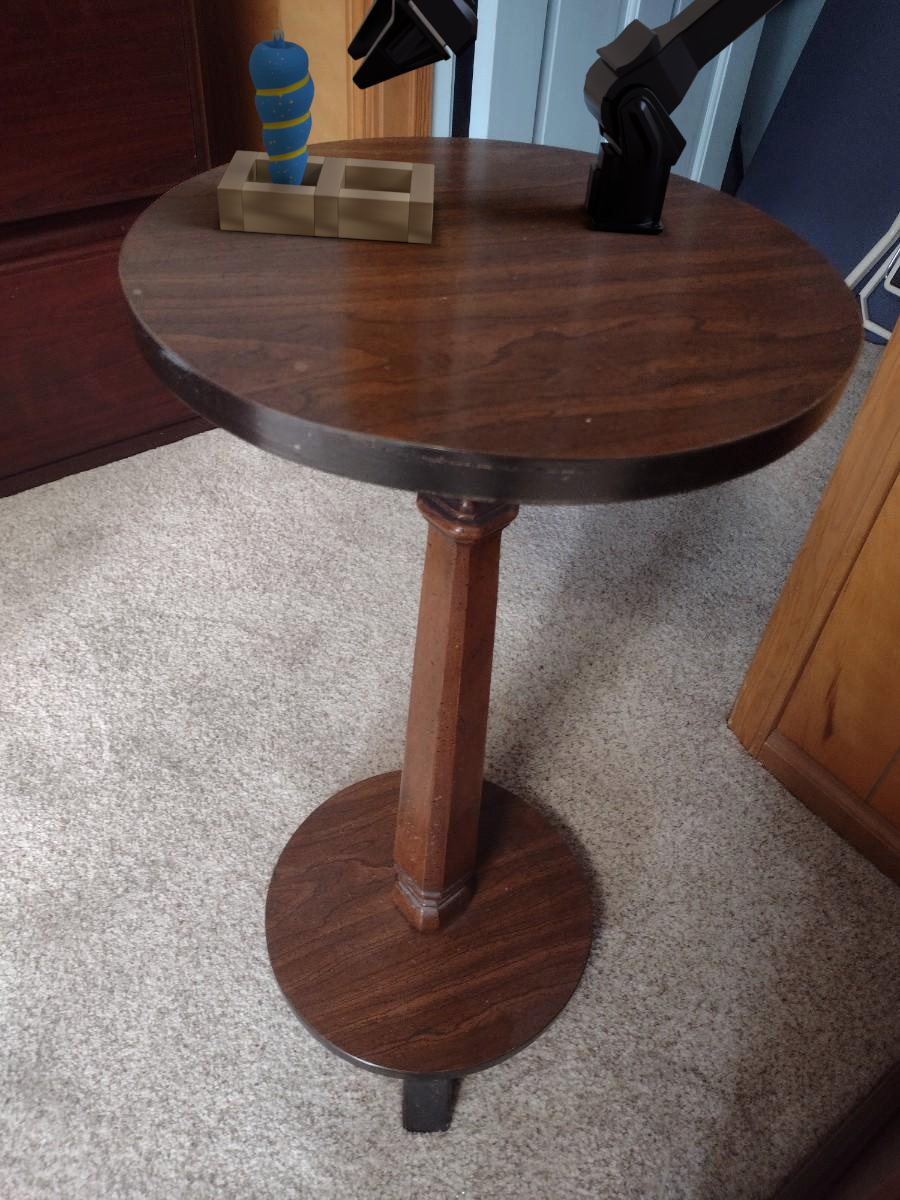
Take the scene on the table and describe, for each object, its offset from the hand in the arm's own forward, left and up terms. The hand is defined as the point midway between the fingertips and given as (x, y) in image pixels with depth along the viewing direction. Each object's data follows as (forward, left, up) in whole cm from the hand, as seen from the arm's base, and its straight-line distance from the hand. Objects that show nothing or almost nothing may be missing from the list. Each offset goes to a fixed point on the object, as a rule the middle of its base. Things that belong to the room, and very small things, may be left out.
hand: (353, 69), depth 80 cm
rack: (+2, +1, -12) cm, 12 cm away
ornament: (+6, +1, -12) cm, 13 cm away
